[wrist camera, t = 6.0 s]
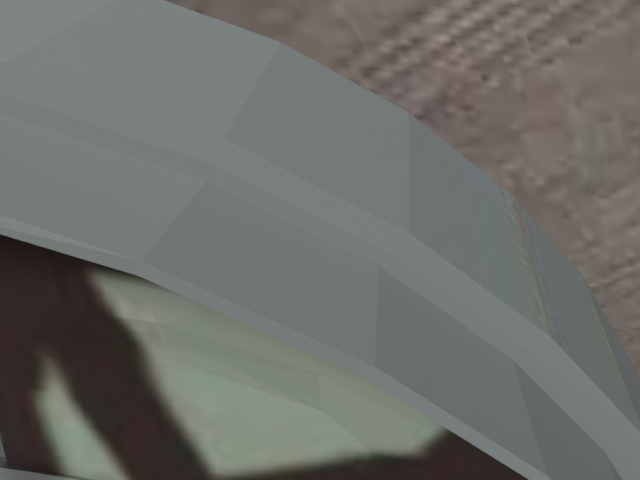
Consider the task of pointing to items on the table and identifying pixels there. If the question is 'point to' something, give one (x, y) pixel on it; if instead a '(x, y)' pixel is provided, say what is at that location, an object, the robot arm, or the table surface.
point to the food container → (272, 274)
